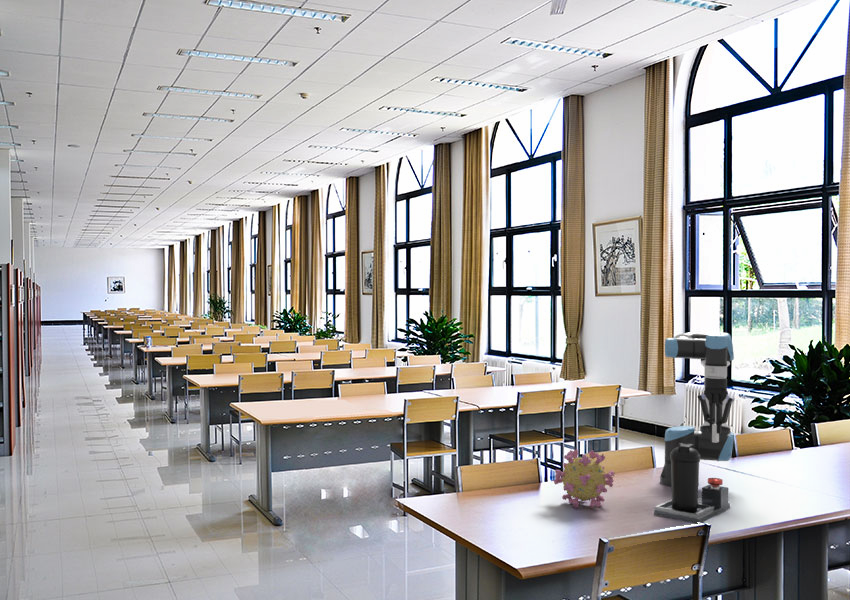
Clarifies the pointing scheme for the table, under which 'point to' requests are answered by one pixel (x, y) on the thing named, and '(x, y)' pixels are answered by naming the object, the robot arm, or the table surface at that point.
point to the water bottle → (685, 478)
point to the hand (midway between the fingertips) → (715, 441)
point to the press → (706, 508)
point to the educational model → (584, 478)
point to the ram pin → (715, 483)
